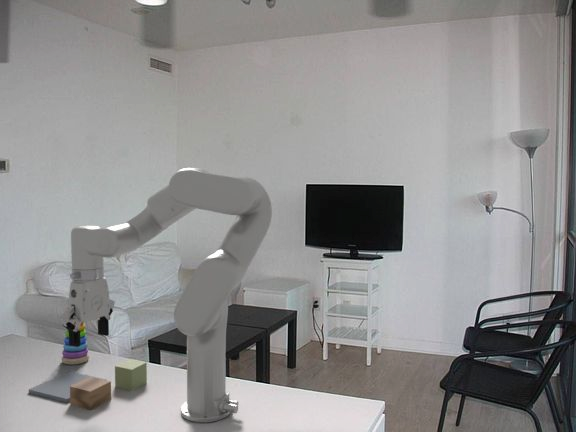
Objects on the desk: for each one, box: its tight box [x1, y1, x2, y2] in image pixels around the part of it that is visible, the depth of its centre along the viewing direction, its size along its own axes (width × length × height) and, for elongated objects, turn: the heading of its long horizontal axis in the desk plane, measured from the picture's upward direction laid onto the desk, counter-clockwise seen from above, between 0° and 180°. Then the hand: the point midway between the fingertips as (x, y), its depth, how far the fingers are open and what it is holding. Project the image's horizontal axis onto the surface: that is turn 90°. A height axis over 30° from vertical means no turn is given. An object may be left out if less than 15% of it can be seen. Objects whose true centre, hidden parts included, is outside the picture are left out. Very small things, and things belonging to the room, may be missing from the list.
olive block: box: [114, 358, 148, 392], centre depth 145 cm, size 6×6×6 cm
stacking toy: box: [61, 307, 90, 366], centre depth 162 cm, size 8×8×19 cm
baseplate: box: [28, 370, 108, 404], centre depth 143 cm, size 14×14×1 cm
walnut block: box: [69, 376, 112, 411], centre depth 134 cm, size 7×7×5 cm
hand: (89, 340), depth 133 cm, fingers open, 9 cm apart
